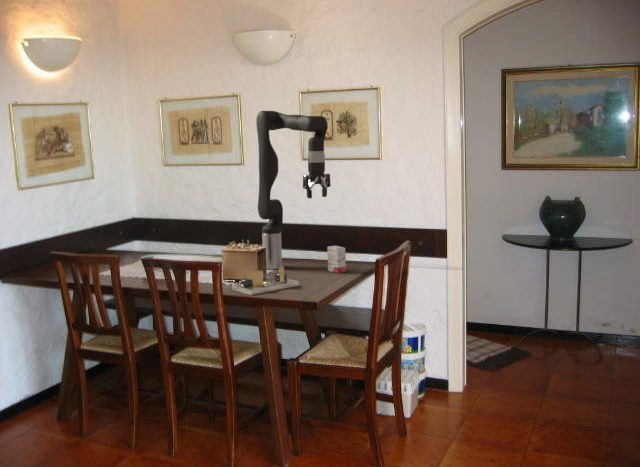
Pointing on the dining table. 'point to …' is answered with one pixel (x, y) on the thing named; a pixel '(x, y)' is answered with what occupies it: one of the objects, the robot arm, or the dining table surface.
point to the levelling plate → (266, 286)
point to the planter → (243, 260)
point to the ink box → (336, 259)
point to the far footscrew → (281, 274)
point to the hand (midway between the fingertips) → (317, 197)
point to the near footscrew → (253, 278)
